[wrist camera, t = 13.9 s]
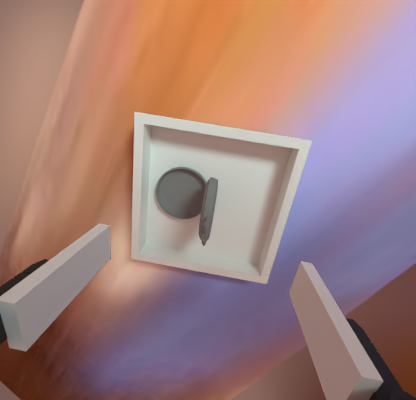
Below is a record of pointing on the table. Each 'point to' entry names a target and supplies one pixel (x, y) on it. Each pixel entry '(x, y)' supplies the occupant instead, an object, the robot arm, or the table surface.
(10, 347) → the robot arm
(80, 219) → the table surface
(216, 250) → the tray
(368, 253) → the table surface
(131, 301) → the table surface
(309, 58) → the table surface
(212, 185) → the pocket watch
